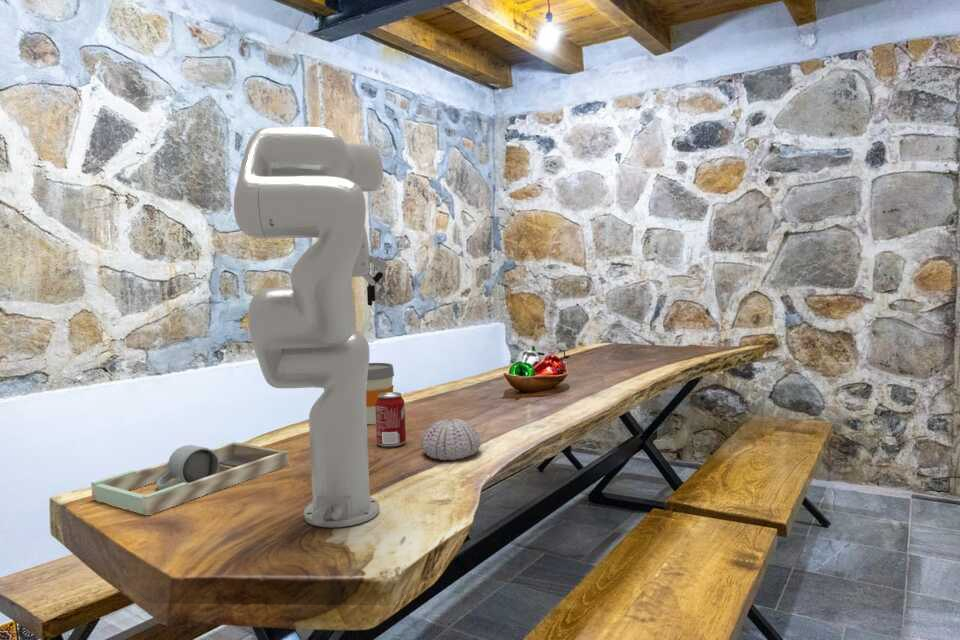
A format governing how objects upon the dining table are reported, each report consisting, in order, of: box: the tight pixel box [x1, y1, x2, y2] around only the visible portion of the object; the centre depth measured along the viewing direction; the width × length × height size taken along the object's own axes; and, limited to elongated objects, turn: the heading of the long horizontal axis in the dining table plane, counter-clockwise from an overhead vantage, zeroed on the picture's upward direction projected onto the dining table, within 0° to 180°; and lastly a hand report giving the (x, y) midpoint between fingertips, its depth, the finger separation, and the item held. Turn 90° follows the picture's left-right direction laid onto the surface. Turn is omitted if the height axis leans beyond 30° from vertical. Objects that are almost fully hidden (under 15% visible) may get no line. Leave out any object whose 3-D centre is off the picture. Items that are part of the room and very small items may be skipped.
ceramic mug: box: [155, 444, 221, 491], centre depth 129 cm, size 11×8×8 cm
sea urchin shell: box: [420, 418, 482, 461], centre depth 146 cm, size 13×14×8 cm
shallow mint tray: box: [90, 469, 188, 514], centre depth 121 cm, size 8×17×3 cm, turn 59°
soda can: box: [375, 391, 407, 448], centre depth 154 cm, size 7×7×12 cm
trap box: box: [91, 441, 290, 515], centre depth 131 cm, size 32×17×3 cm, turn 149°
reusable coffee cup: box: [366, 362, 395, 425], centre depth 179 cm, size 13×12×15 cm
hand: (346, 305), depth 134 cm, fingers open, 9 cm apart
